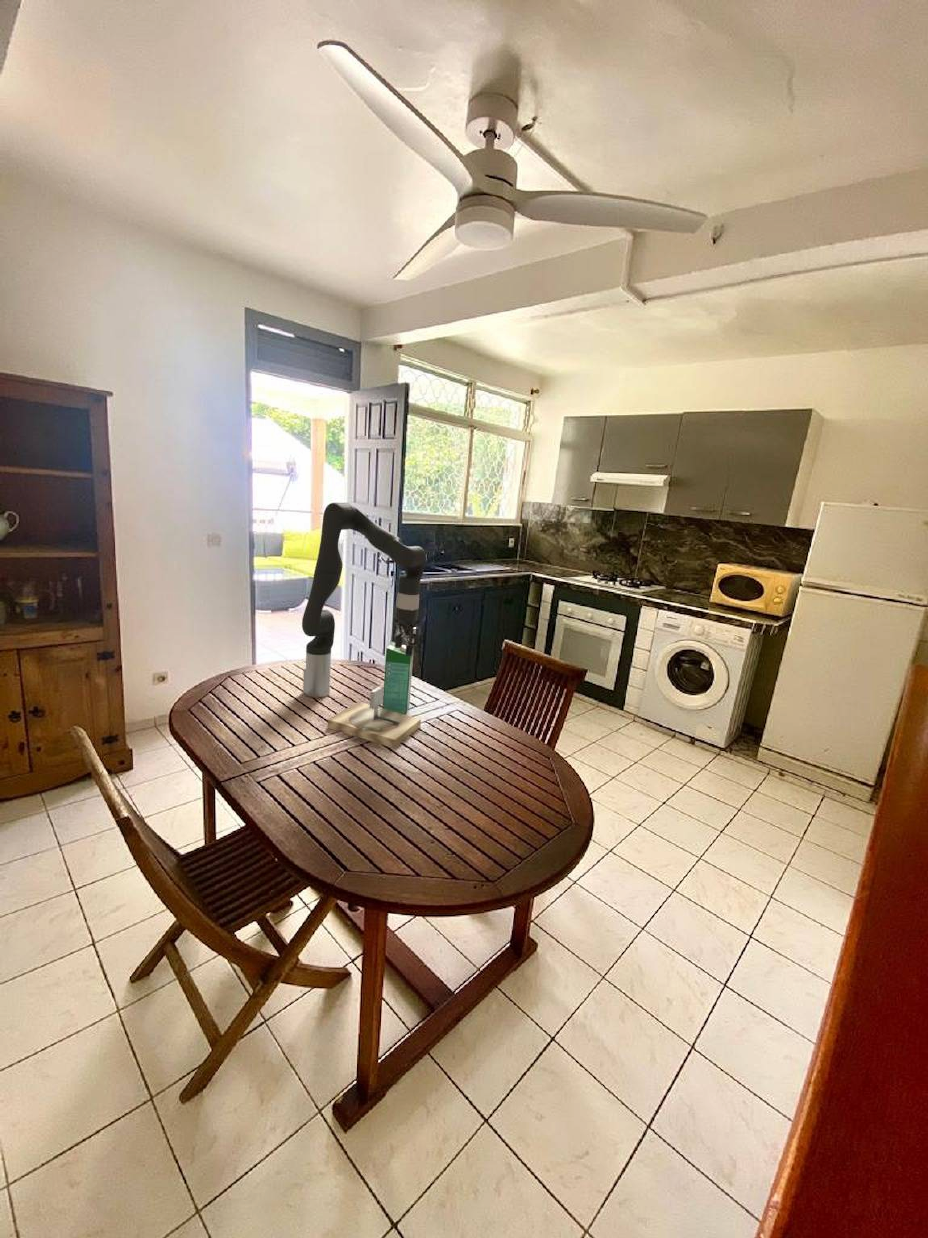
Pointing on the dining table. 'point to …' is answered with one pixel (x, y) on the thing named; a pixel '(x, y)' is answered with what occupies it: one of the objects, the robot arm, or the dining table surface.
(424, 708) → the dining table surface
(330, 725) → the dial board
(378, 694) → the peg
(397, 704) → the milk carton
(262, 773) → the dining table surface
